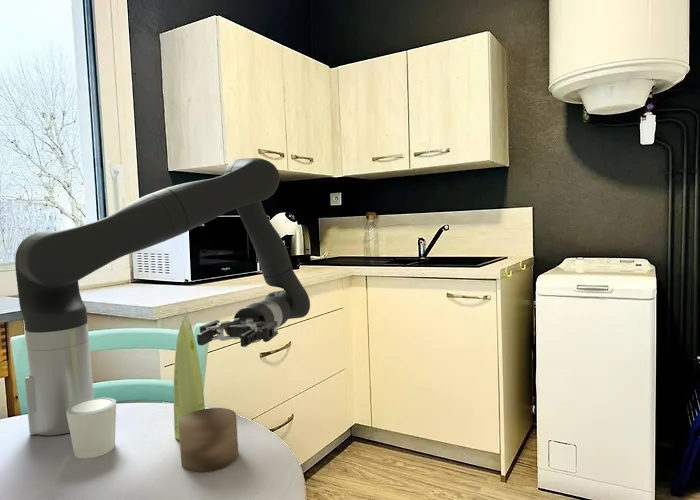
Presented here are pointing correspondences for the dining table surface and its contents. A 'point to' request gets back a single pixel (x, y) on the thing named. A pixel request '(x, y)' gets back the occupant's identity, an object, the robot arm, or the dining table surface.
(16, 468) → the dining table surface
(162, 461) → the dining table surface
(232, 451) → the walnut block
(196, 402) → the tube
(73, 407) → the white cup
